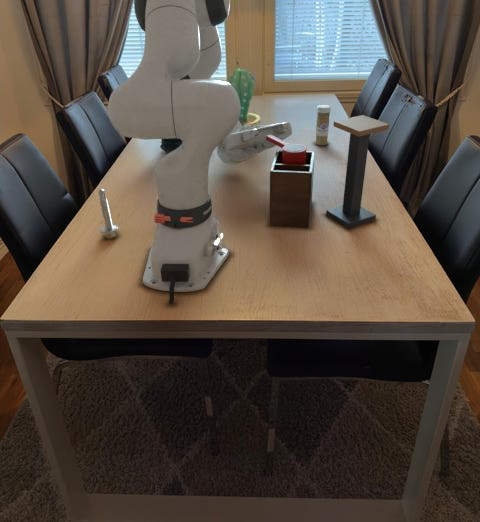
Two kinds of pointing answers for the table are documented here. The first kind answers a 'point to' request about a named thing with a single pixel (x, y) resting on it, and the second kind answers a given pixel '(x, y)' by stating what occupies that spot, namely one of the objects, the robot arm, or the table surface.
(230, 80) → the potted cactus
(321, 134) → the sprinkles bottle
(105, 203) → the screw
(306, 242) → the table surface
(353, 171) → the stand
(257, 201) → the table surface
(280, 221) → the caddy
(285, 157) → the cup
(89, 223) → the table surface
